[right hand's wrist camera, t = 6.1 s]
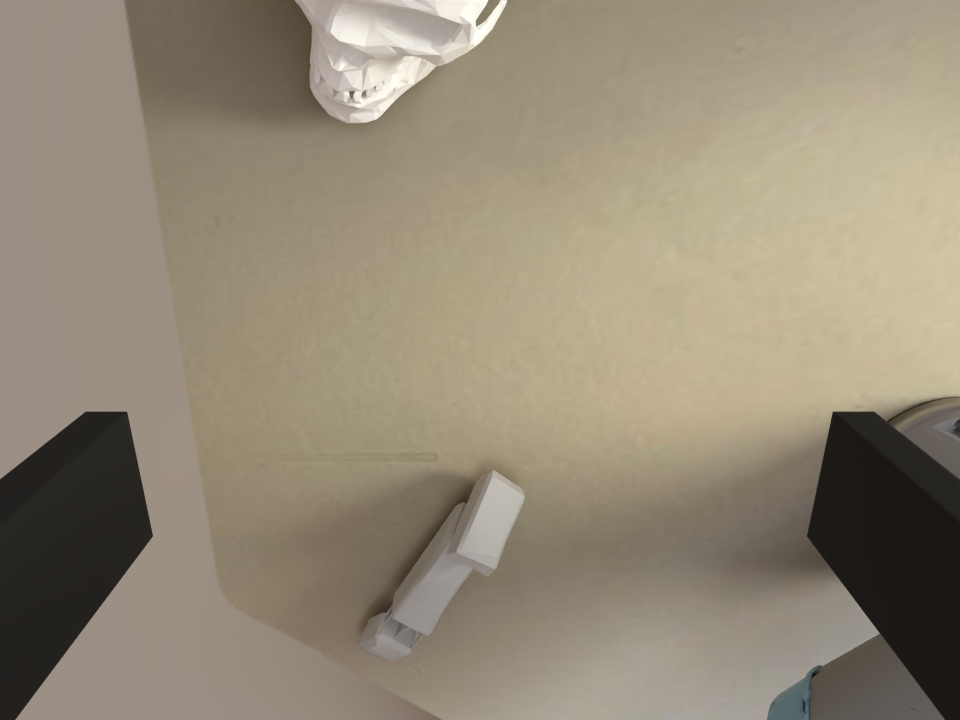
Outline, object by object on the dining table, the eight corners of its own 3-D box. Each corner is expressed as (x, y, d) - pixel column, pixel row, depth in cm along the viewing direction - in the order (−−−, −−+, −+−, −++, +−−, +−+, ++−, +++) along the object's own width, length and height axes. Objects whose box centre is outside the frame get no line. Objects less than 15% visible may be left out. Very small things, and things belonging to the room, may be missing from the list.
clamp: (489, 459, 52) (484, 515, 46) (528, 482, 53) (529, 541, 47) (364, 612, 60) (345, 678, 54) (400, 631, 60) (386, 698, 54)
